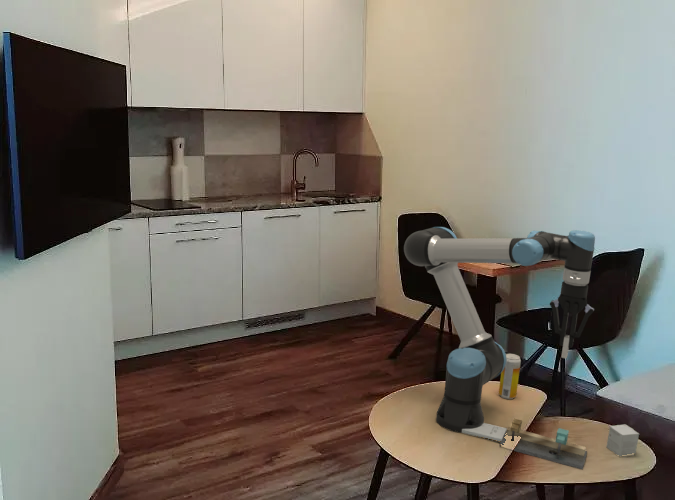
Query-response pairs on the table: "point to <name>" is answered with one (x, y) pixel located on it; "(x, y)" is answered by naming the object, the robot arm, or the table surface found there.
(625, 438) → the product box
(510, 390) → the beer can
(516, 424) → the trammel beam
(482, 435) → the external hard drive
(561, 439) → the block
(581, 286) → the robot arm
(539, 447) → the bolt plate
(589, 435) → the table surface
